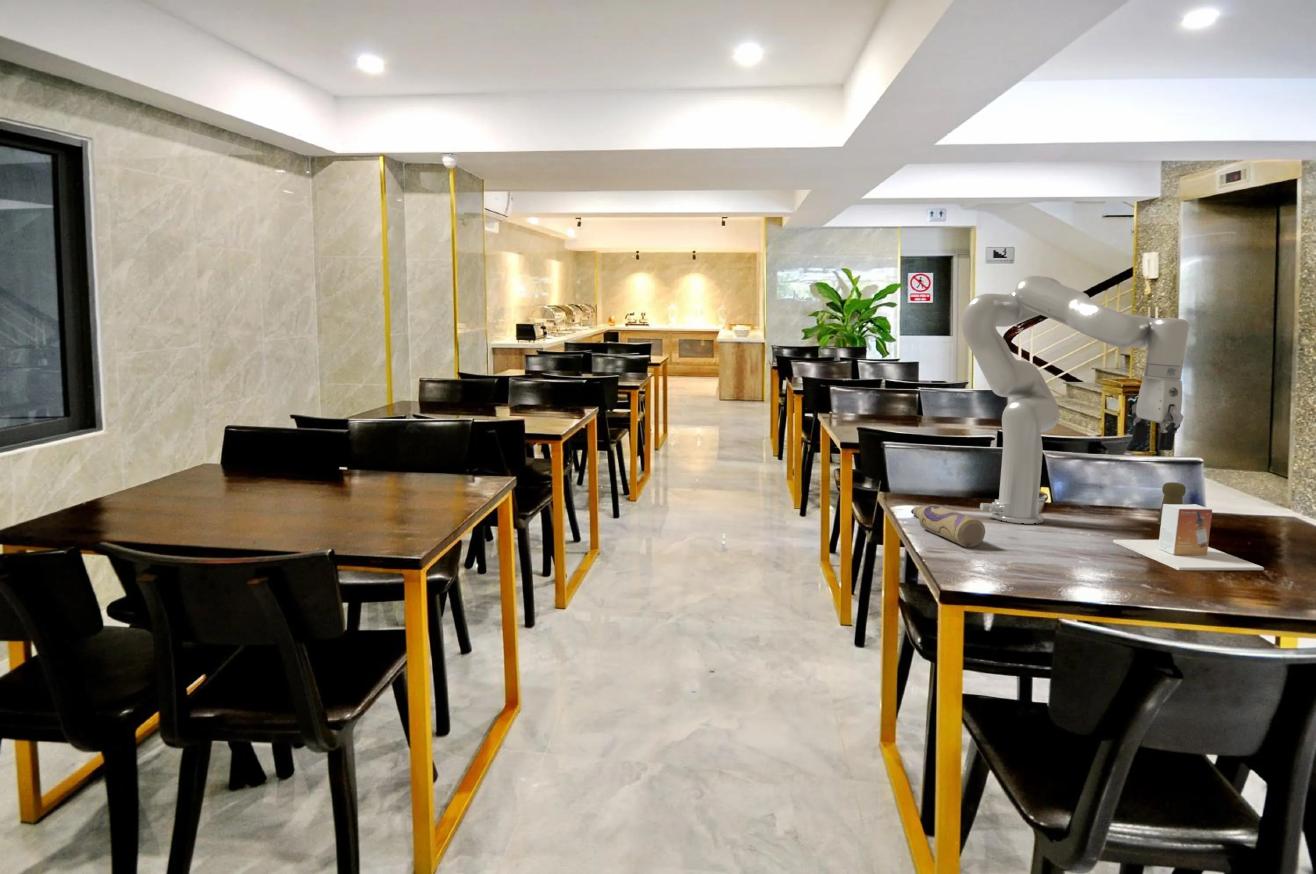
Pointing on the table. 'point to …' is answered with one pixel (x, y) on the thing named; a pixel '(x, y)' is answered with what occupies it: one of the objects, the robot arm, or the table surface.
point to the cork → (1172, 495)
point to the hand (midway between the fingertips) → (1151, 446)
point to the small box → (1185, 529)
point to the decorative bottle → (950, 525)
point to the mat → (1188, 557)
